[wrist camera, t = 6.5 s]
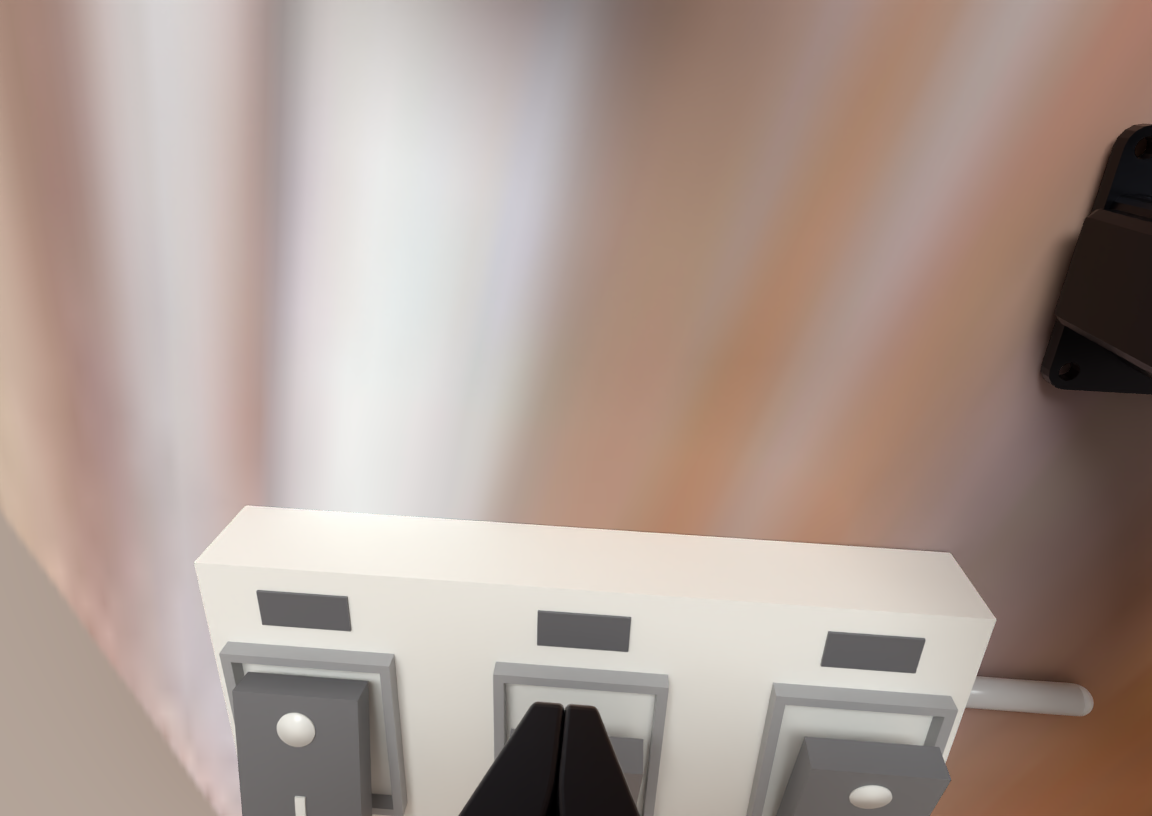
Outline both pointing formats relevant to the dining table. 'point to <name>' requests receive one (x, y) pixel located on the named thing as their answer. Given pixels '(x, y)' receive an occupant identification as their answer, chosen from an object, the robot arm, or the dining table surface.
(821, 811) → the rocker
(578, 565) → the power strip
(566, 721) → the robot arm
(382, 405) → the dining table surface
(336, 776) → the rocker
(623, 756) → the rocker middle
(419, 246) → the dining table surface
